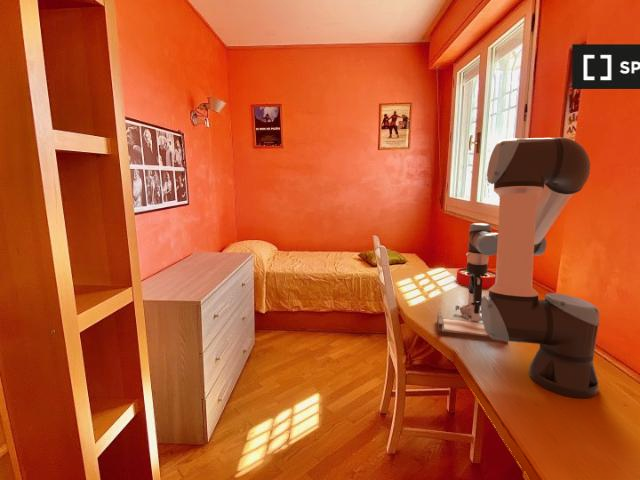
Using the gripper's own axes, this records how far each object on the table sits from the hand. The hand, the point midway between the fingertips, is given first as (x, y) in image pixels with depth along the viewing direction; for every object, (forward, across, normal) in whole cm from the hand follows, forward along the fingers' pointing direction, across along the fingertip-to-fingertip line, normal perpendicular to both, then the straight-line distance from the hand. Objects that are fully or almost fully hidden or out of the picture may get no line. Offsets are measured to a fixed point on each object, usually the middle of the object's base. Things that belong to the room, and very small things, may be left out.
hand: (473, 314), depth 137 cm
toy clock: (+1, -49, +7) cm, 50 cm away
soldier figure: (+1, +2, -1) cm, 2 cm away
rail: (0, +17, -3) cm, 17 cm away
